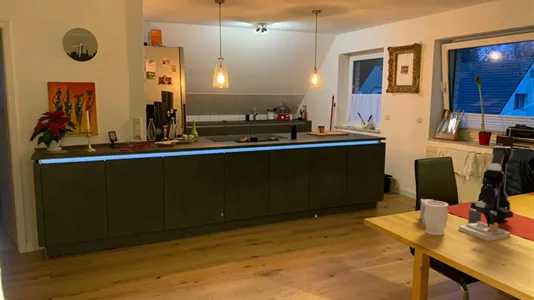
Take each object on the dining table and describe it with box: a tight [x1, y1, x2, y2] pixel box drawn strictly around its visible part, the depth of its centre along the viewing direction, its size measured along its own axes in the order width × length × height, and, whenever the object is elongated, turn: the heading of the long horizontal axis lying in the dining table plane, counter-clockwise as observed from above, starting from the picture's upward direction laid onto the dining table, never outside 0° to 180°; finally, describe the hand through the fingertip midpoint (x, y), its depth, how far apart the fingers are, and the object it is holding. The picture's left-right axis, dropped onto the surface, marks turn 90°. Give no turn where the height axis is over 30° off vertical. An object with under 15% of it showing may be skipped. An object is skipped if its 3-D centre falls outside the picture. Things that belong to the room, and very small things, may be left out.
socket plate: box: [458, 221, 511, 242], centre depth 199 cm, size 14×17×3 cm
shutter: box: [483, 222, 504, 235], centre depth 194 cm, size 6×6×4 cm
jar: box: [424, 200, 449, 237], centre depth 199 cm, size 11×10×15 cm
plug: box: [468, 208, 482, 224], centre depth 214 cm, size 4×4×7 cm
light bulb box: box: [419, 198, 435, 225], centre depth 217 cm, size 11×7×11 cm, turn 168°
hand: (489, 227), depth 196 cm, fingers closed
